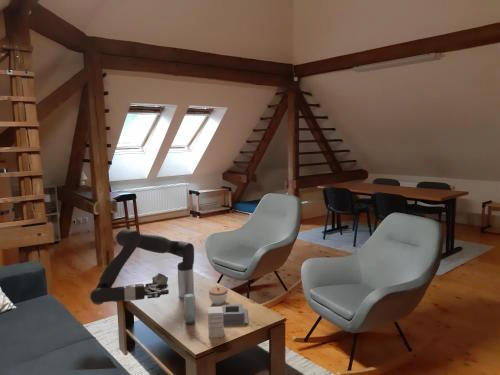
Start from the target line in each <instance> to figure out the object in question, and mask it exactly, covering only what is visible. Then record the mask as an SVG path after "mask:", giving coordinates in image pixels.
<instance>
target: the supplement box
mask: <svg viewBox="0 0 500 375" xmlns="http://www.w3.org/2000/svg"><path fill="white" fill-rule="evenodd" d="M207 322H208V323H207V324H208V325H207V326H208V338H209V339H211V338H224V336H225V335H224V326H223V307H222V305H217V306H208V307H207Z"/></svg>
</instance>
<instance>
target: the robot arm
mask: <svg viewBox="0 0 500 375" xmlns="http://www.w3.org/2000/svg"><path fill="white" fill-rule="evenodd" d="M115 240H116V243H117V244H118V245H119V246H121V247H122V249H121V250H120V252H119V253H118V254H117V255H116V256H115V257H114V258H113V259H112V260H111V261H110V262H109V263H108V264H107V265H106V267H105V268H104V270H103V272H102V273H101V276H100V277H99V282H98V284H97V285H96V287H95V289H93V290H92V291H91V292H90V294H89V298H90V300H91V302H92V304H94V305H96V306H97V305H98V306H99V305H102V304H104V303H109V302H114V303H118V302H132V301H139V300H140V301H141V300H145V297H146V296H147V297H146V298H147V299H155V298H157V299H158V298H160V297H161V296H162V295H163V296H166V295H169V293H170V292H169V289H167V288H168V285H167V284H168V283H167V284H166V283H165V284H157V283H152V282H150V283H145V284H144V283H138V284H137V283H135V284H127V285H123V286H117V287H116V286H115V287H113V285H114V284H115V282H116V280H117V278H118V276H119V274H120V273H121V271H122V269H123V267H124V266H125V264H126V263H127V262H128V260H129V259H130V257H131V256H132V254H133V253H134V252H135V251H136V249H137V248H138V249H141V250H144V251H148V252H150V253H151V252H152V253H156V254H171V255H175V256H177V257H179V258H182V261H181V262H178V263H177V287H178V288H177V289H178V297H179V298H181V299H184V295H186V294H193V295H194V296H195V283H194V282H195V280H194V264H195V248H194V247H195V246H194V244H193V243H191V242H186V241H182V240H180V241H177V240H170V239H169V238H167V237H164V236H160V235H156V234H155V235H154V234H142V233H140V231H138V230H136V229H130V228H128V229H127V228H125V229H121V230H120V231H118V232H117V233H116V236H115ZM157 289H160V290H157Z"/></svg>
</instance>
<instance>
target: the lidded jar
mask: <svg viewBox="0 0 500 375" xmlns="http://www.w3.org/2000/svg"><path fill="white" fill-rule="evenodd" d="M208 295H209V299H210V301H211V302H212V303H213V305H216V306H222V305H224V304H225V302H226V301H227V299H228V288H227V287H225V286H213V287H211V288H209V290H208Z"/></svg>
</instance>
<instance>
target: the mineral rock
mask: <svg viewBox="0 0 500 375" xmlns="http://www.w3.org/2000/svg"><path fill="white" fill-rule="evenodd" d="M151 280H152V282H151V283H157V284H165V283H166V284H168V281H169V277H168V276H166V275H165V274H162V273H160V272H158V273H157V274H156V275H154V276H152V279H151ZM157 290H161V289H157Z"/></svg>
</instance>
